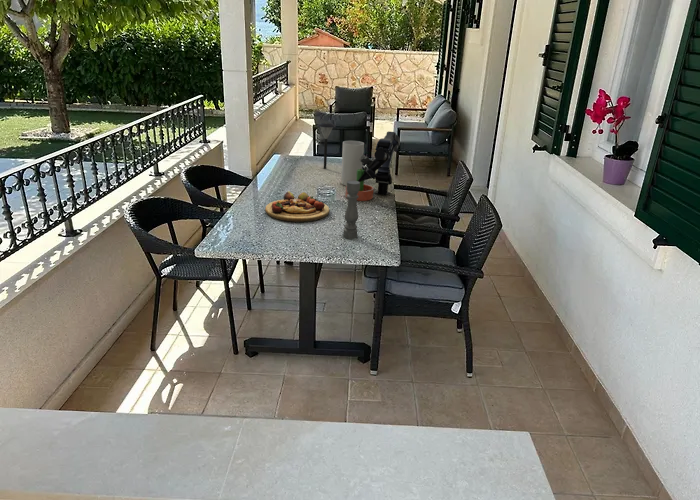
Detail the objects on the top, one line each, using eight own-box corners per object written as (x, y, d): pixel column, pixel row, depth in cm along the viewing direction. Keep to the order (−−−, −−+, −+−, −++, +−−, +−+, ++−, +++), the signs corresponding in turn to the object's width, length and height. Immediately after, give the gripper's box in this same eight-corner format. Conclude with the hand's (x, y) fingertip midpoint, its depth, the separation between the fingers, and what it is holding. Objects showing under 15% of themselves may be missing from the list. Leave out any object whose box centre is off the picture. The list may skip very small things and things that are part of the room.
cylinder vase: (350, 188, 298) (352, 145, 289) (336, 183, 307) (338, 141, 297) (365, 185, 306) (368, 143, 296) (352, 180, 315) (354, 140, 305)
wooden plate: (278, 226, 233) (278, 209, 230) (256, 205, 259) (256, 190, 256) (340, 218, 247) (340, 202, 244) (314, 199, 273) (314, 185, 270)
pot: (354, 191, 293) (354, 182, 290) (377, 196, 285) (378, 187, 283) (339, 197, 280) (340, 187, 278) (364, 203, 273) (365, 193, 271)
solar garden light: (317, 165, 345) (319, 120, 333) (335, 167, 343) (337, 122, 332) (314, 169, 333) (315, 123, 322) (332, 171, 332) (334, 125, 320)
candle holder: (342, 233, 229) (345, 180, 219) (356, 234, 230) (359, 180, 220) (343, 238, 223) (346, 184, 213) (357, 239, 224) (361, 184, 214)
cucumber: (358, 190, 284) (359, 167, 279) (364, 191, 282) (366, 168, 277) (354, 192, 281) (355, 168, 276) (360, 193, 279) (362, 170, 274)
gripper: (366, 146, 281) (346, 165, 284) (371, 154, 264) (350, 174, 267) (379, 161, 286) (359, 179, 289) (385, 169, 269) (363, 189, 272)
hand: (357, 180), depth 279 cm, fingers closed on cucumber, 4 cm apart
